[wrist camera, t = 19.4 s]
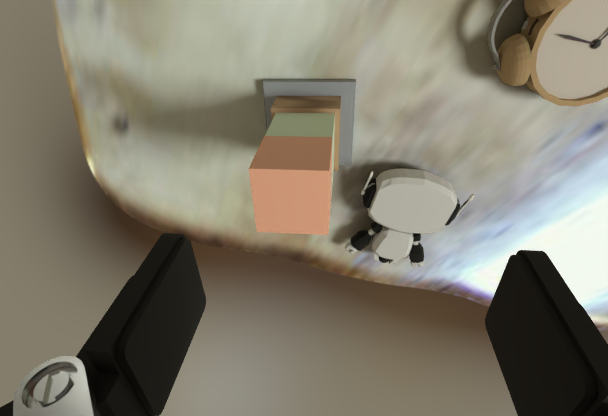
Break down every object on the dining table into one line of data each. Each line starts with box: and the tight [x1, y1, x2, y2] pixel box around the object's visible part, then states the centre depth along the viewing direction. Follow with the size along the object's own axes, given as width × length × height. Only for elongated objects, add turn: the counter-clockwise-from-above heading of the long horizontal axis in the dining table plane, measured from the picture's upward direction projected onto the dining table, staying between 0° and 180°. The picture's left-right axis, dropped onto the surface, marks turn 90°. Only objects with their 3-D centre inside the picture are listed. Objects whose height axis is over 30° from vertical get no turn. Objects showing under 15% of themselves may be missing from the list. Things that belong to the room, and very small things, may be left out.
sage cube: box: [265, 113, 335, 196], centre depth 36 cm, size 6×6×6 cm
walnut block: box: [271, 96, 341, 171], centre depth 40 cm, size 7×7×4 cm
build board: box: [263, 79, 356, 166], centre depth 42 cm, size 10×10×1 cm
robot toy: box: [345, 169, 474, 267], centre depth 46 cm, size 12×4×15 cm
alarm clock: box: [487, 0, 608, 106], centre depth 33 cm, size 11×5×15 cm
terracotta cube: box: [249, 136, 333, 235], centre depth 31 cm, size 6×6×6 cm
